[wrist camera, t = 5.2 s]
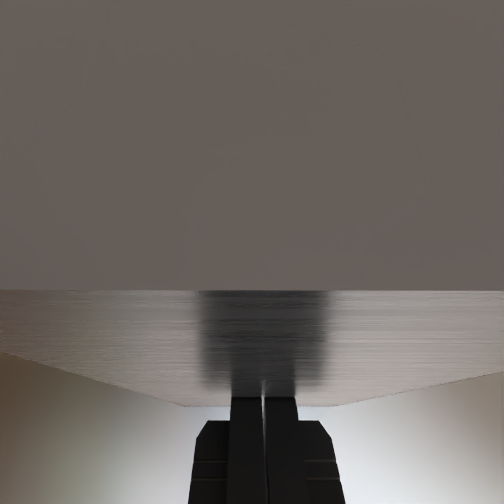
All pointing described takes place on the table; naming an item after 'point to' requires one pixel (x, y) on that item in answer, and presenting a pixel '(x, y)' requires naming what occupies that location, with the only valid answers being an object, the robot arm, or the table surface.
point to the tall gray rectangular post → (253, 194)
